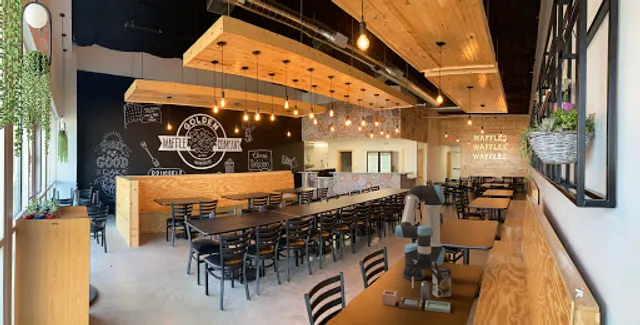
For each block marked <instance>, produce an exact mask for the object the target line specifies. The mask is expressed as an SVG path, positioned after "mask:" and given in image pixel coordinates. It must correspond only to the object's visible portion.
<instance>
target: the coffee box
mask: <svg viewBox="0 0 640 325" xmlns="http://www.w3.org/2000/svg"><path fill="white" fill-rule="evenodd" d="M438 268H439V270H440V272H441V274H442V276H443V279H440V285H438V291H436V277H435V276H434V274H433V273H432V295H433V296H435V297H436V298H448V297H451V296H452V274H451V273H452V270H451V269H450V268H447V267H445V266H442V267H438ZM432 269H433V270H434V271H435V272H436V273H437V275H438V276H439V274H438V272H437V270H436V268H435V267H434V268H432Z"/></svg>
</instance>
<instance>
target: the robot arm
mask: <svg viewBox="0 0 640 325" xmlns="http://www.w3.org/2000/svg"><path fill="white" fill-rule="evenodd" d="M404 202H405V204H404V209H403V213H402V216H401V221H400V224H398V225H396V227H395V236H396V238H401V239H413V240H414V239H415V240H417V242H413V243H412V242H411V243H407V244H406V245H405V246H404V266H403V270H402V278H403V279H406V280H409V283H411V289H414V282H415V281H422V280H424V279H425V278H426V277H425V272H424V270H429V271H430V272H431V273H432V275H433V274H434V276H435V277H436V291H438V285H440V279H443V276H442V274H441V272H440V270H439V268H440V267H438V266H441V265H442V264H443V263H444V258H445V247H443V244H442V243H441V219H440V218H441V213H440V211H441V210H440V209H441V207H442V206H443V204H444V203H445V195H444V190H443V187H442V185H437V184H429V185H425V184H419V185H415V186H413V187H412V188H410V189H409V190H408V191H407V193H406V195H405V198H404ZM420 202H421V203H423V204H424V206H425V207H426V225H417V226H416V225H415V226H414V224H415V223H414V222H415V216H416V212H417V207H418V204H419V203H420ZM432 266H433V267H434V268H436V270H437V272H438V274H439V276H438V275H437V273H436V272H435V271H434V270H433V268H432Z"/></svg>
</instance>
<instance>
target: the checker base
mask: <svg viewBox="0 0 640 325" xmlns="http://www.w3.org/2000/svg"><path fill="white" fill-rule="evenodd" d="M405 299H410V300H418V304H417V305H408V304H404V302H405ZM423 304H424V303H423V299H421V298H416V297H408V296H401V298H400V300H399V303H398V308H399V309H406V310H415V311H422V309H423Z"/></svg>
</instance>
